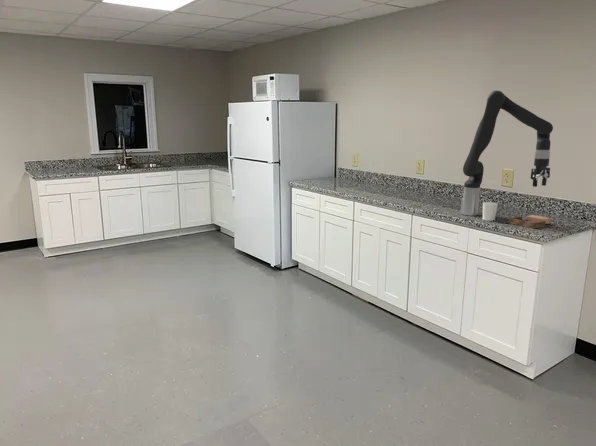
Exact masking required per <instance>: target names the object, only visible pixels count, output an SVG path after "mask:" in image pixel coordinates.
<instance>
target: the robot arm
mask: <svg viewBox="0 0 596 446" xmlns="http://www.w3.org/2000/svg"><path fill="white" fill-rule="evenodd" d="M501 110H502V111H503V110H504V111H505V112H507V113H508V114H509V115H511V116H512V117H513V118H515V119H516V120H518V122H520V123H521V124H523V125H526V126H527V127H530V128H532V129H533V130H534V131H536V146H535V152H534V153H535V154H534V162H533V166H534V167H535V168H531V169H530V170H531V173H530V179H531V180H532V187H533V188H534V187H535V188H536V187H538V182H539V181H538V179H539V178H540V177H541V186H544V187H545V186H547V182H548V181H547V180H548V179H550V176H551V167H549V166H550V156H551V139H550V137H551V133H552V132H553V130H554V126H553V124H552V123H551V122H550V121H547V120H546V119H544V118H542V117H539V116H538V115H536V114H534V113H533V112H532V111H530V110H529V109H526V108H525V107H523V106H521V105H519V104H518V103H516V102H515V101H514V100H512V99H510V98H509V97H508V96H507V95H505V94H504V93H503V92H502V91H501V90H494V91H493V90H492V91H491V92H490V93H489V94H488V95H487V99H486V105H485V109H484V113H483V116H482V119H481V120H480V122H479V123H478V127H477V129H476V132H475V134H474V138H473V141H472V143H471V144H472V145H471V147H470V149H469V152H468V155H467V157H466V159H465V161H464V164H463V166H462V171H463V175H464V176H466V177H468V179H467V180H466V181H465V182H464V183H463V184H464V185H463V196H462V198H461V201H460V214H462V215H465V216H477V215H478V214H479V213H478V211H479V204H480V203H479V200H480V191H481V185H482V182H483V178H484V172H485V171H484V164H483V162H481V161H480V160H479V159H480V157H481V155H482V153H484V151H485V150H486V148H487V147H488V146H489V144H490V143H491V141H492V138H493V135H494V132H495V128H496V127H495V126H496V122H497V118H498V116H499V114H500V111H501Z"/></svg>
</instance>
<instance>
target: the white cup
mask: <svg viewBox="0 0 596 446" xmlns="http://www.w3.org/2000/svg"><path fill="white" fill-rule="evenodd" d="M497 209H498V203H497V202H493V201H484V202H483V201H482V220H483V221H486V222H487V221H488V222H493V220H494V221H495V220H496V215H497Z"/></svg>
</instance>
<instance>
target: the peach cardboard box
mask: <svg viewBox="0 0 596 446" xmlns="http://www.w3.org/2000/svg"><path fill="white" fill-rule="evenodd" d="M550 219H551V218H549V217H545V216H541V215H537V214H536V215H534V214H532V215H526V216H525V219H524V221H527V222H532V223H536V222H541V221H546V223H545V225H549V224H550Z"/></svg>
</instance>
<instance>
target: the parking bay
mask: <svg viewBox="0 0 596 446" xmlns="http://www.w3.org/2000/svg"><path fill="white" fill-rule="evenodd" d="M545 223H546V221H541V222H536V223H532V222H527V221H525V220H523V216H514V217H510V218H509V220H508V224H509V225H510V224H511V225H514V224H515V225H514V226H519V225H520V226H519V227H523V226H524V227H523V228H528V227H529V228H530V229H533V228H535V229H539V228H540V229H541V228H544V227H546V224H545Z"/></svg>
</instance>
